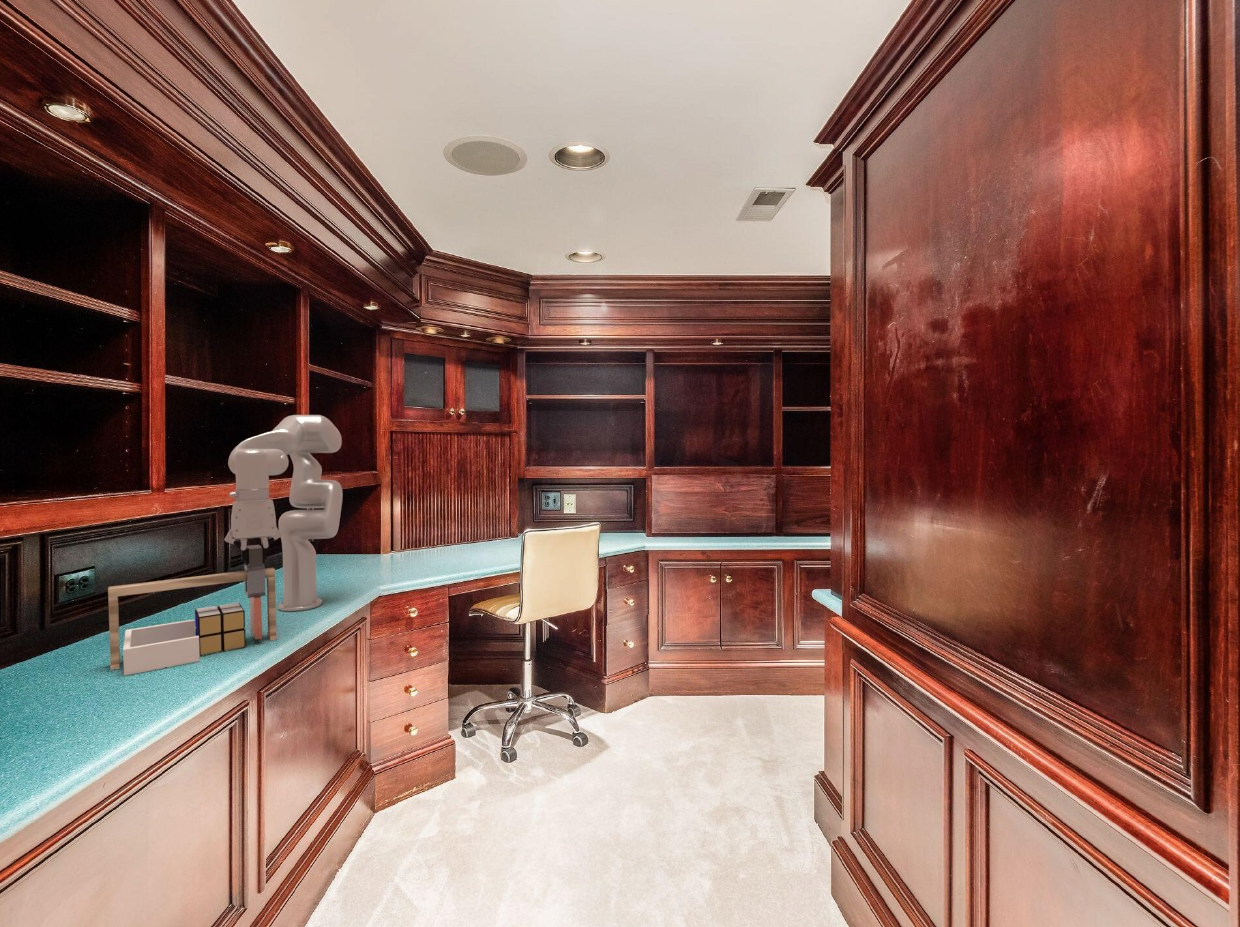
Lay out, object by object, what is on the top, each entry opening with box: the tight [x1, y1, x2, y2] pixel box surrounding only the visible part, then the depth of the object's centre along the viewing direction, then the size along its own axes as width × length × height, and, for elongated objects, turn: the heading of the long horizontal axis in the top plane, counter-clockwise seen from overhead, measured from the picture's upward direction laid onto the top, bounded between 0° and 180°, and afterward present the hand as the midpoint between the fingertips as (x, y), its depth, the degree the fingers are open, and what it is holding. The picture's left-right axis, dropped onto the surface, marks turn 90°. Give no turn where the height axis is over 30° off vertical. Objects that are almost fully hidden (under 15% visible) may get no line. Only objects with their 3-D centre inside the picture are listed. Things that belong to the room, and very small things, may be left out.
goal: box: [122, 618, 201, 677], centre depth 146 cm, size 18×14×6 cm
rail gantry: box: [107, 567, 278, 671], centre depth 151 cm, size 6×34×19 cm, turn 129°
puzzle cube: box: [194, 602, 247, 657], centre depth 154 cm, size 10×10×10 cm
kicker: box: [243, 544, 267, 640], centre depth 158 cm, size 9×4×24 cm, turn 39°
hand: (254, 562), depth 158 cm, fingers closed on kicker, 3 cm apart
